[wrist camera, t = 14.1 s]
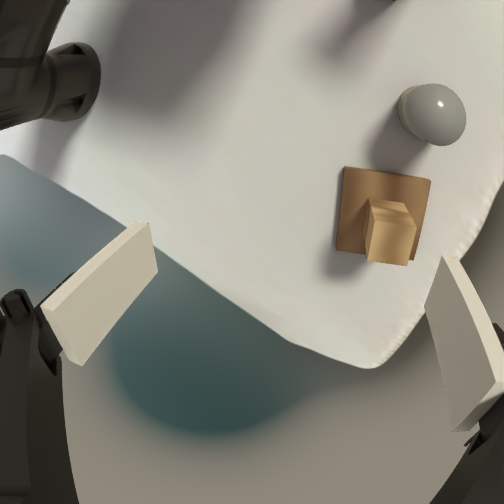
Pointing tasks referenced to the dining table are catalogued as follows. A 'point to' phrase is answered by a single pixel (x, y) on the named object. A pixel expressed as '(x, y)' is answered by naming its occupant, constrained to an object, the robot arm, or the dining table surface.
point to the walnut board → (378, 187)
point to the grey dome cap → (432, 113)
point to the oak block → (388, 232)
